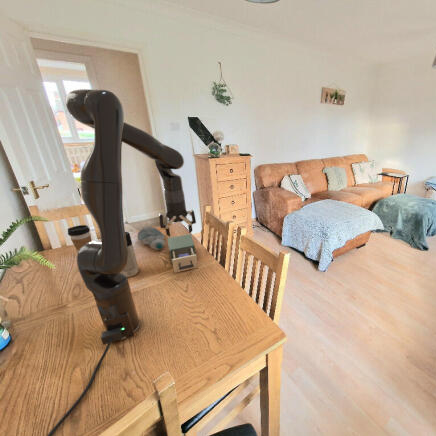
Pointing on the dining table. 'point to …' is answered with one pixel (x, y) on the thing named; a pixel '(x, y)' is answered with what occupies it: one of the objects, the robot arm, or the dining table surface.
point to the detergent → (151, 237)
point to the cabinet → (180, 244)
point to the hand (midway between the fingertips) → (179, 233)
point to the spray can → (130, 259)
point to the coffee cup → (79, 236)
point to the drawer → (184, 260)
